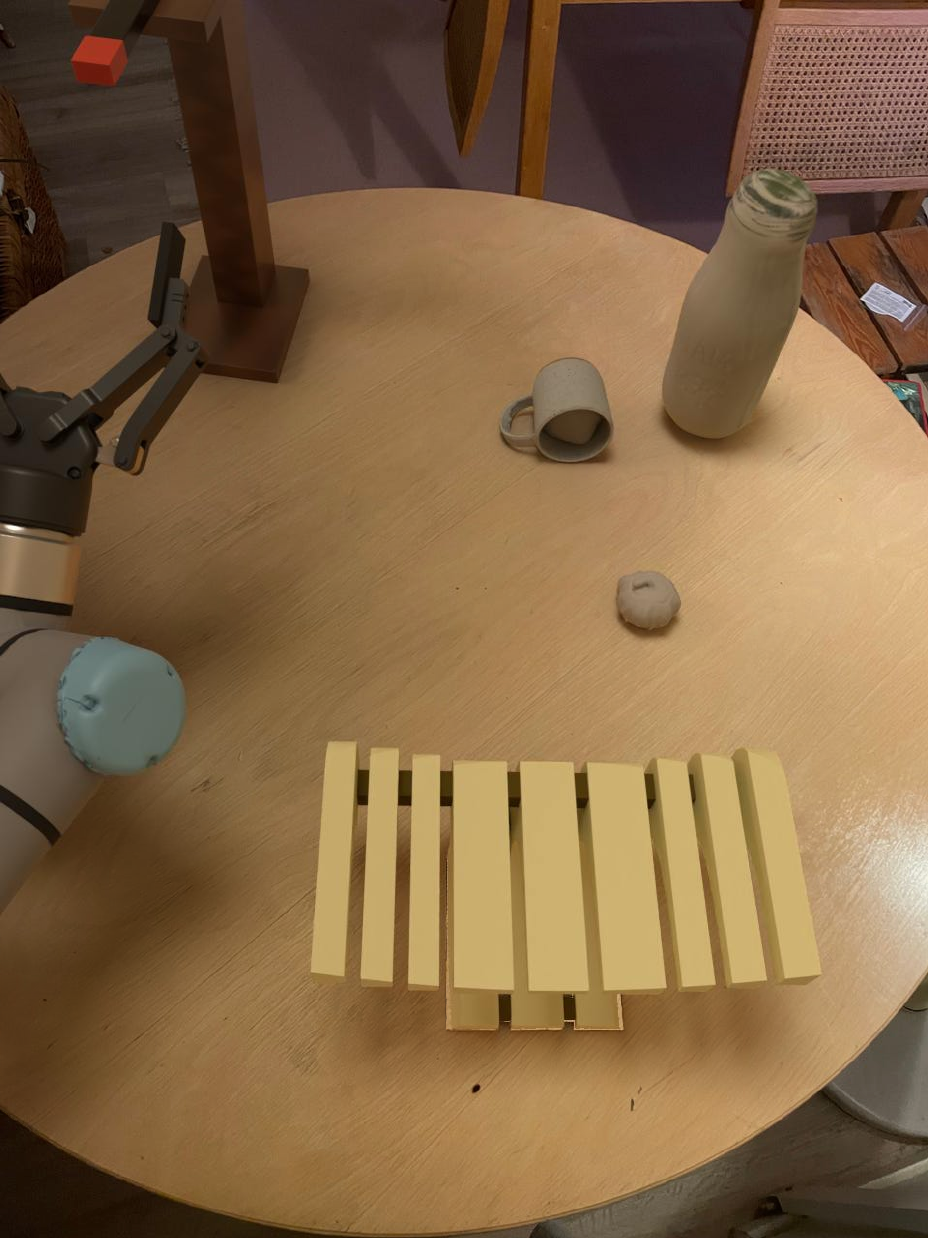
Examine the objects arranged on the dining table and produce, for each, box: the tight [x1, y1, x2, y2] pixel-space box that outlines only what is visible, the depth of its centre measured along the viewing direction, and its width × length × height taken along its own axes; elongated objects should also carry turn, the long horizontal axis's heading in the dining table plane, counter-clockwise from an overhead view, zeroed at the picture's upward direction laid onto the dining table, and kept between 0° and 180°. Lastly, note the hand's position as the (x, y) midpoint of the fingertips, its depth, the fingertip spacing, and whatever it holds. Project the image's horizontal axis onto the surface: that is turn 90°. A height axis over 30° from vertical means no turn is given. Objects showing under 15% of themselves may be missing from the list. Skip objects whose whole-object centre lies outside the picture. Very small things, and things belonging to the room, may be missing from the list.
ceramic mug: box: [499, 356, 615, 463], centre depth 103 cm, size 11×8×8 cm
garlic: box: [616, 570, 682, 631], centre depth 93 cm, size 6×5×5 cm
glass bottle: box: [661, 167, 819, 439], centre depth 96 cm, size 10×10×28 cm
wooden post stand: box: [67, 0, 311, 384], centre depth 95 cm, size 12×18×38 cm, turn 172°
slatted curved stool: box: [310, 740, 823, 1030], centre depth 72 cm, size 30×16×18 cm, turn 90°
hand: (74, 216), depth 69 cm, fingers open, 13 cm apart
